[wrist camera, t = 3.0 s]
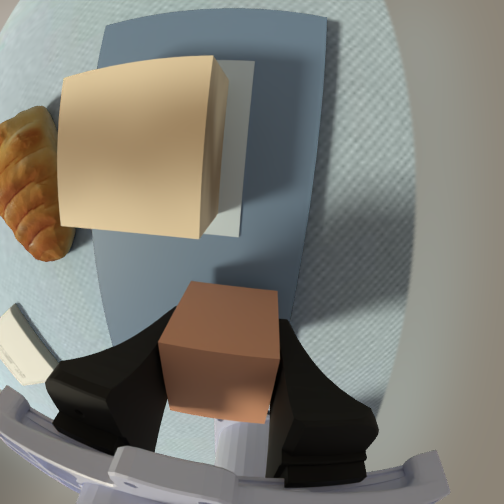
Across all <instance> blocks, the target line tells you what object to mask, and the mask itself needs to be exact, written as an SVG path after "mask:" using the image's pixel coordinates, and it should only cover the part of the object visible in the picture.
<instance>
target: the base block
mask: <svg viewBox="0 0 504 504" xmlns="http://www.w3.org/2000/svg"><path fill="white" fill-rule="evenodd" d="M228 86H229V79H228V78H227V76H226V75H225V73H224V71H223V70H222V68H221V67H220V65H219V64H218V62H217V60H216V59H215V57H214V56H213V55H211V56H185V57H171V58H161V59H152V60H144V61H137V62H131V63H125V64H120V65H114V66H109V67H105V68H100V69H96V70H92V71H88V72H84V73H80V74H76V75H73V76H69V77H66V78H64V80H63V86H62V94H61V102H60V112H59V124H58V145H57V178H58V199H59V211H60V222H61V226H67V227H78V228H89V229H99V230H110V231H120V232H131V233H141V234H151V235H161V236H171V237H181V238H191V239H200V238H201V236H202V235H203V233H204V232H205V231H206V229H207V228H208V227H209V225H210V224H211V222H212V221H213V220H214V218H215V217H216V216H217V214H218V205H219V189H220V175H221V161H222V149H223V137H224V126H225V115H226V105H227V95H228Z"/></svg>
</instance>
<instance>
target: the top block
mask: <svg viewBox="0 0 504 504" xmlns="http://www.w3.org/2000/svg"><path fill="white" fill-rule="evenodd" d="M158 346H159V353H160V359H161V365H162V371H163V377H164V382H165V387H166V393H167V398H168V402H169V407H170V410H173V411H177V412H182V413H187V414H192V415H198V416H203V417H210V418H216V419H223V420H231V421H239V422H249V423H260V424H265V420H266V416H267V412H268V408H269V404H270V400H271V396H272V392H273V387H274V383H275V379H276V374H277V370H278V366H279V361H280V344H279V315H278V291H274V290H264V289H255V288H246V287H237V286H228V285H220V284H212V283H204V282H196V281H191V282H190V284H189V285H188V287H187V289H186V291H185V293H184V294H183V296H182V298H181V300H180V302H179V304H178V305H177V307H176V309H175V311H174V313H173V315H172V317H171V318H170V320H169V322H168V324H167V326H166V328H165V330H164V332H163V333H162V335H161V337H160V339H159V341H158Z"/></svg>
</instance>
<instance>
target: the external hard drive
mask: <svg viewBox="0 0 504 504" xmlns="http://www.w3.org/2000/svg"><path fill="white" fill-rule="evenodd" d="M0 359H1V360H2V361H3V363H4V364H5V365H6V367H7V368H8V369H9V370H10V372H11V373H12V374H13V375H14V377H15V378H16V379H17V380H18V381H19V382H20V383H21V384H22V385H23V386H25V385H32V384H38V383H44V382H46V379H47V378H48V377H49V375H50V374H51V373H52V371H53V370H54V369H55V368H56V366H57V365H58V364H59V363H58V361H57V360H56V359H55V358H54V357H53V355H52V354H51V353H50V352H49V350H48V349H47V348H46V347H45V345H44V344H43V343H42V341H41V340H40V339H39V337H38V336H37V335H36V333H35V332H34V330H33V329H32V328H31V326H30V325H29V323H28V322H27V320H26V319H25V317H24V316H23V314H22V313H21V311H20V310H19V308H18V306H17V305H16V303H15V304H14V305H13V306H12V307H10V308H9V309H8V310H7V311H6V312H5V313H4V314H3V315H2V316H1V317H0Z"/></svg>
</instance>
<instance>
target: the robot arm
mask: <svg viewBox="0 0 504 504" xmlns="http://www.w3.org/2000/svg"><path fill="white" fill-rule="evenodd" d="M176 307H177V306H175V307H173V308H172V309H171V310H169V311H168V312H167V313H166V314H164V315H163V316H162V317H160V318H159V319H158V320H157V321H155V322H154V323H152V324H151V325H150V326H148V327H147V328H145V329H144V330H142V331H141V332H139V333H138V334H136V335H135V336H133V337H131V338H130V339H128V340H126V341H124V342H122V343H120V344H118V345H116V346H113V347H111V348H109V349H106V350H104V351H101V352H98V353H95V354H92V355H88V356H85V357H81V358H76V359H71V360H65V361H60V363H59V364H58V365H57V366H56V368H55V369H54V370H53V371H52V373H51V374H50V375H49V377H48V378H47V379H46V382H45V385H46V389H47V391H48V394H49V395H50V397H51V399H52V400H53V402H54V404H55V405H56V407H57V408H58V410H59V413H58V414H57V416H56V417H55V419H54V420H52V419H51V418H49V417H47V416H45V415H43V414H42V413H40V412H38V411H37V410H35V409H33V408H31V407H30V405H29V403H28V401H27V400H26V399H25V397H24V396H23V395H21V394H20V393H19V392H17V391H16V390H14V389H12V388H11V387H10V386H7V385H6V387H5V388H4V389H3V390H2V392H1V393H0V438H1V439H2V440H3V441H4V442H5V443H6V444H7V445H8V446H9V447H10V448H11V449H12V450H13V451H15V452H16V453H17V454H19V455H20V456H21V457H23V458H24V459H25V460H27V461H28V462H30V463H31V464H33V465H34V466H35V467H37V468H38V469H40V470H41V471H42V472H44V473H45V474H47V475H49V476H50V477H52V478H53V479H55V480H57V481H58V482H60V483H61V484H63V485H65V486H66V487H68V488H70V489H72V490H73V491H75V492H77V493H79V496H78V499H77V502H76V504H435V503H436V502H438V501H440V500H441V499H443V498H445V497H446V496H448V495H449V494H450V489H449V486H448V482H447V479H446V476H445V473H444V470H443V467H442V464H441V462H440V459H439V456H438V453H437V451H436V450H433V451H429V452H426V453H422V454H419V455H416V456H413V457H411V458H410V459H408V460H407V461H406V462H405V463H404V464H403V465H402V466H397V467H393V468H389V469H383V470H378V471H372V472H366V469H365V464H364V461H365V460H366V459H367V456H366V449H367V448H368V447H369V446H370V445H371V444H372V442H373V441H374V440H375V439H376V437H377V435H378V432H379V429H378V425H377V422H376V419H375V416H374V414H373V412H372V410H371V408H369V407H368V406H366V405H364V404H362V403H361V402H359V401H357V400H355V399H354V398H352V397H351V396H350V395H348V394H347V393H345V392H344V391H343V390H341V389H340V388H339V387H338V386H336V385H335V384H334V383H333V382H332V381H331V380H330V379H328V378H327V377H326V376H325V375H324V374H323V372H322V371H321V370H320V369H319V368H318V367H317V366H316V364H315V363H314V362H313V361H312V359H311V358H310V357H309V355H308V354H307V352H306V351H305V349H304V348H303V346H302V345H301V343H300V342H299V340H298V338H297V336H296V335H295V333H294V331H293V329H292V327H291V325H290V323H289V321H288V320H287V319H279V344H280V361H279V366H278V370H277V374H276V379H275V383H274V387H273V392H272V396H271V400H270V415H267V416H266V420H265V424H260V423H249V422H239V421H231V420H223V419H216V418H214V431H215V463H214V465H210V464H205V463H199V462H194V461H189V460H184V459H179V458H175V457H171V456H166V455H162V454H159V453H155V447H156V443H157V438H158V433H159V429H160V425H161V421H162V417H163V413H164V409H165V406H166V402H167V399H168V398H167V393H166V387H165V382H164V377H163V371H162V365H161V359H160V353H159V346H158V341H159V339H160V337H161V335H162V333H163V332H164V330H165V328H166V326H167V324H168V322H169V320H170V318H171V317H172V315H173V313H174V311H175V309H176Z"/></svg>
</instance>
